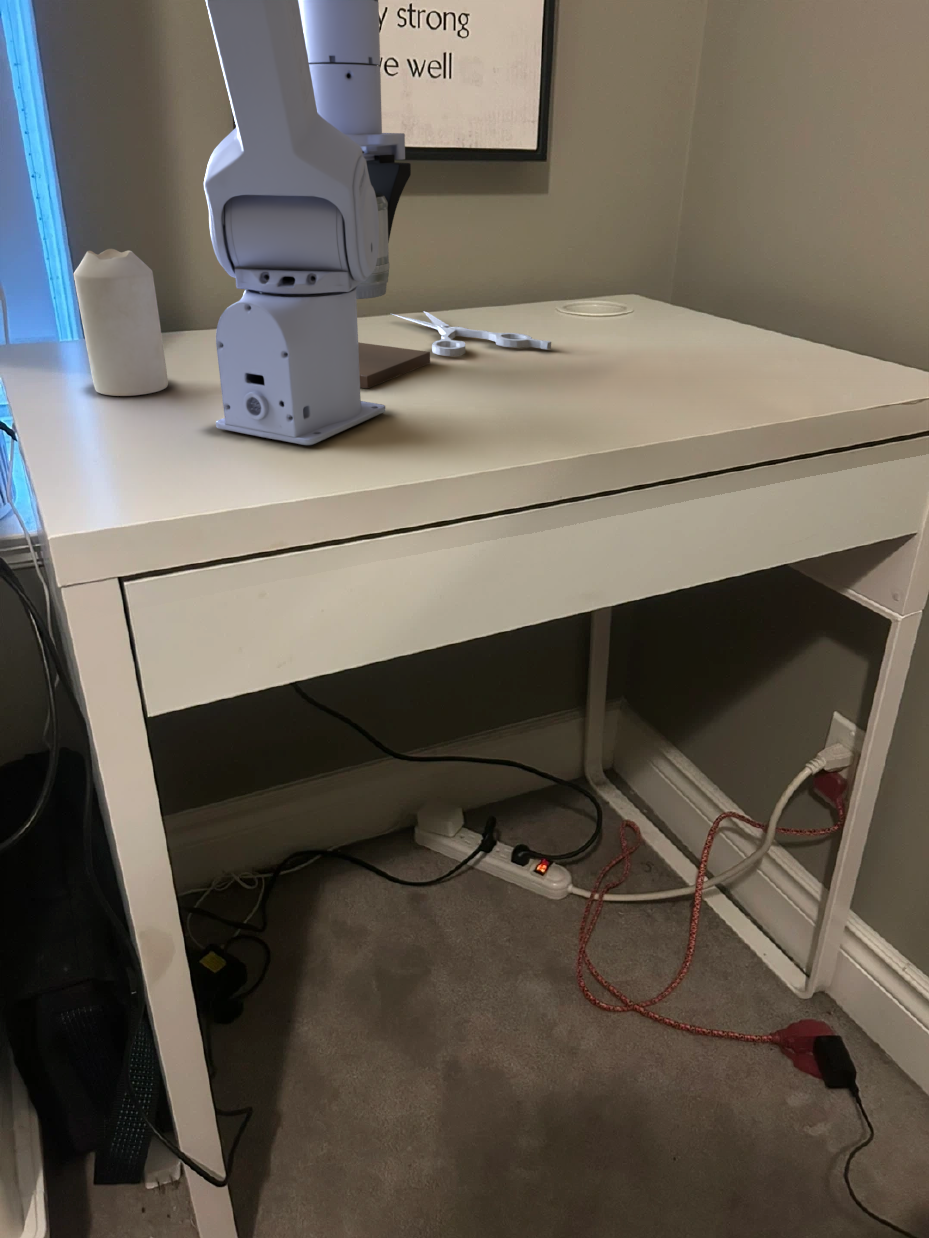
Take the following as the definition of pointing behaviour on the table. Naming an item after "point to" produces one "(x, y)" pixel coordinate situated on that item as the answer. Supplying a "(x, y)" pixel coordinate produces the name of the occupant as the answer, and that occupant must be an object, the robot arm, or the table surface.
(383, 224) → the camera lens
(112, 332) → the candle
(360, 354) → the walnut board
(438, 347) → the scissors
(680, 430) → the table surface
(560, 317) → the table surface
